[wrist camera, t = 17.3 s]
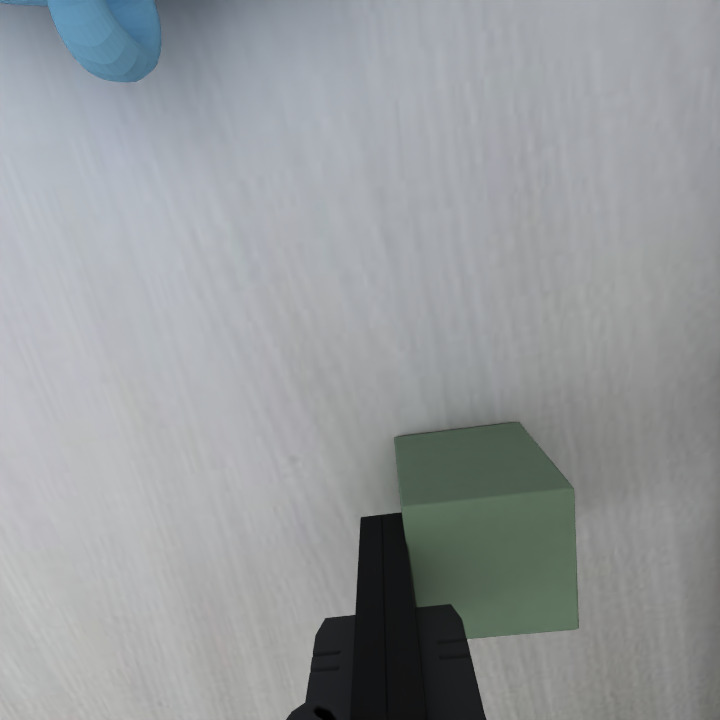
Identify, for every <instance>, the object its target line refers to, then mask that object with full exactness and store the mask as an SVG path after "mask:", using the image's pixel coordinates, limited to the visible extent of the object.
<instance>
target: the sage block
mask: <svg viewBox="0 0 720 720" xmlns="http://www.w3.org/2000/svg"><path fill="white" fill-rule="evenodd" d="M394 442H395V452H396V462H397V472H398V482H399V493H400V503H401V511H402V519H403V526H404V533H405V540H406V543H407V550H408V556H409V563H410V569H411V576H412V582H413V589H414V595H415V602H416V607H426V606H435V605H445V604H451V605H452V606H453V608H454V609H455V610H456V612H457V613H458V614H459V615H460V617H461V618H462V621H463V625H464V629H465V634H466V638H467V639H473V638H484V637H496V636H507V635H518V634H530V633H541V632H552V631H563V630H575V629H578V628H579V620H578V590H577V560H576V529H575V499H574V488H573V486H572V485H571V484H570V483H569V482H568V480H567V479H566V478H565V477H564V476H563V474H562V473H561V472H560V471H559V470H558V468H557V467H556V466H555V465H554V464H553V462H552V461H551V460H550V459H549V458H548V456H547V455H546V454H545V453H544V452H543V450H542V449H541V448H540V447H539V446H538V444H537V443H536V442H535V441H534V440H533V438H532V437H531V436H530V435H529V434H528V433H527V431H526V430H525V429H524V428H523V427H522V425H521V424H520V423H519V422H515V423H506V424H498V425H490V426H482V427H474V428H466V429H457V430H449V431H441V432H433V433H425V434H416V435H408V436H400V437H395V439H394Z"/></svg>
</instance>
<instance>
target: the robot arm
mask: <svg viewBox="0 0 720 720" xmlns="http://www.w3.org/2000/svg"><path fill="white" fill-rule="evenodd" d="M286 720H486V717H485V714H484V710H483V705H482V701H481V697H480V693H479V689H478V684H477V680H476V676H475V672H474V667H473V663H472V659H471V656H470V651H469V646H468V642H467V638H466V634H465V629H464V625H463V621H462V618H461V617H460V615H459V614H458V613H457V612H456V610H455V609H454V608H453V606H452V605H451V604H445V605H435V606H426V607H416V602H415V595H414V589H413V582H412V576H411V569H410V563H409V556H408V550H407V543H406V540H405V533H404V526H403V519H402V512H401V513H393V514H385V515H376V516H368V517H361V522H360V540H359V559H358V578H357V596H356V615H351V616H342V617H332V618H325V620H324V622H323V623H322V625H321V627H320V628H319V630H318V632H317V634H316V636H315V643H314V649H313V657H312V662H311V673H310V675H309V682H308V688H307V695H306V701H305V703H304V704H302V705H301V706H299V707H298V708H297V709H295V710H294V711H292V712H291V714H290V715H289V716H288V718H287V719H286Z"/></svg>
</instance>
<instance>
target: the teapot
mask: <svg viewBox="0 0 720 720" xmlns="http://www.w3.org/2000/svg"><path fill="white" fill-rule="evenodd" d="M0 3H6V4H19V5H38V6H48V7H49V10H50V13H51V16H52V19H53V21H54V23H55V26H56V28H57V30H58V32H59V34H60V36H61V38H62V39H63V41H64V43H65V45H66V46H67V48H68V49H69V51H70V52H71V53H72V55H73V56H74V58H75V59H76V60H77V61H78V62H79V63H80V64H81V65H82V66H83V67H84V68H85V69H86V70H87V71H88V72H90V73H92V74H93V75H95V76H97V77H99V78H102V79H105V80H109V81H115V82H136V81H138V80H140V79H142V78H143V77H145V76H146V75H147V74H148V73H150V72H151V71H152V70H153V69H154V68H155V66H156V65H157V62H158V59H159V56H160V51H161V27H160V21H159V16H158V12H157V8H156V5H155V2H154V0H0Z"/></svg>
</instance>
